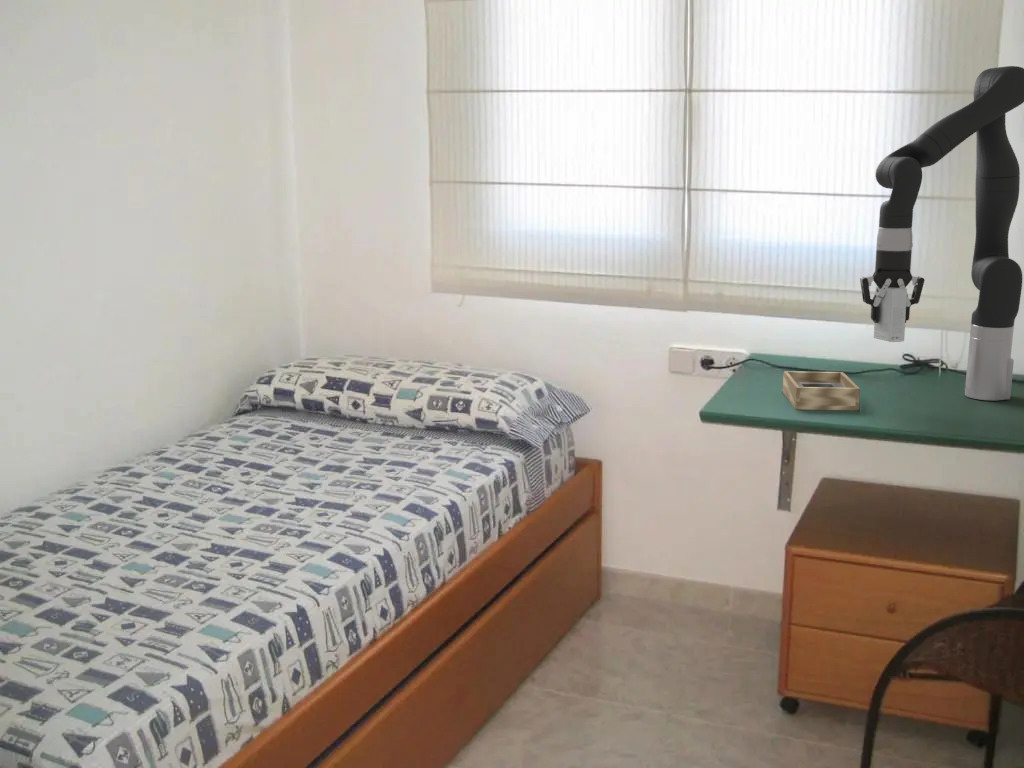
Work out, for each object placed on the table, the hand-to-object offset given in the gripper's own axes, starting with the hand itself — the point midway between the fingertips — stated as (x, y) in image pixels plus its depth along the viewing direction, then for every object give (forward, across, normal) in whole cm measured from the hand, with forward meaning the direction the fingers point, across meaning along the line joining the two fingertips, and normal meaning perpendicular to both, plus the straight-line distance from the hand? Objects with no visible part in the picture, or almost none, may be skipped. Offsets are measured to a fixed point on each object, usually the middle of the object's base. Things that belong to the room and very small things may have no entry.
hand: (889, 322), depth 254 cm
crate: (+19, +14, -2) cm, 24 cm away
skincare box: (+4, 0, 0) cm, 4 cm away
